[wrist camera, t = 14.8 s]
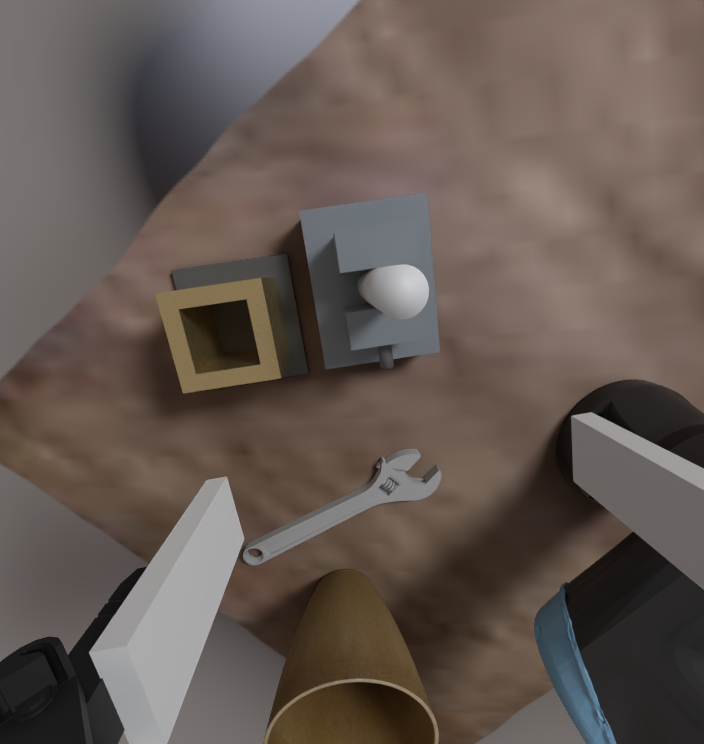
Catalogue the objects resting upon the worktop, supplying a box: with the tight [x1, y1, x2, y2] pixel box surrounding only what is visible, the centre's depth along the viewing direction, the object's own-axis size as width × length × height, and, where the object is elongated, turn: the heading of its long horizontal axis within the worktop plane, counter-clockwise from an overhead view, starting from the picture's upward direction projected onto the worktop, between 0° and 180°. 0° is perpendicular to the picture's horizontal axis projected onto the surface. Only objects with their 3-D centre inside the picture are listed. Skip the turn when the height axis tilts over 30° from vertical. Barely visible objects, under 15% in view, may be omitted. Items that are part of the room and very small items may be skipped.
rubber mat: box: [171, 254, 309, 377], centre depth 36 cm, size 12×11×1 cm
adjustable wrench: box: [243, 449, 441, 565], centre depth 42 cm, size 25×6×2 cm, turn 114°
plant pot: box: [264, 569, 439, 744], centre depth 38 cm, size 15×15×16 cm
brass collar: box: [155, 277, 291, 393], centre depth 32 cm, size 8×8×8 cm
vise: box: [299, 193, 440, 369], centre depth 28 cm, size 14×11×17 cm
